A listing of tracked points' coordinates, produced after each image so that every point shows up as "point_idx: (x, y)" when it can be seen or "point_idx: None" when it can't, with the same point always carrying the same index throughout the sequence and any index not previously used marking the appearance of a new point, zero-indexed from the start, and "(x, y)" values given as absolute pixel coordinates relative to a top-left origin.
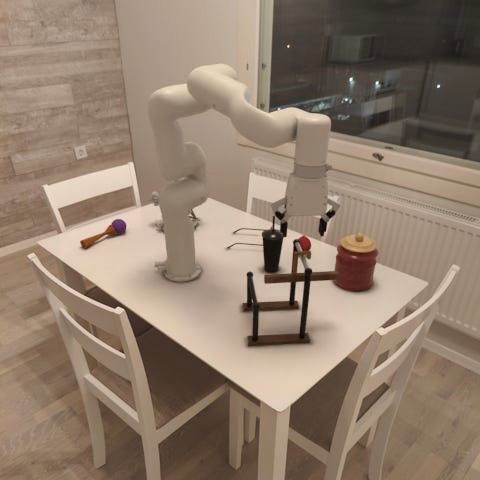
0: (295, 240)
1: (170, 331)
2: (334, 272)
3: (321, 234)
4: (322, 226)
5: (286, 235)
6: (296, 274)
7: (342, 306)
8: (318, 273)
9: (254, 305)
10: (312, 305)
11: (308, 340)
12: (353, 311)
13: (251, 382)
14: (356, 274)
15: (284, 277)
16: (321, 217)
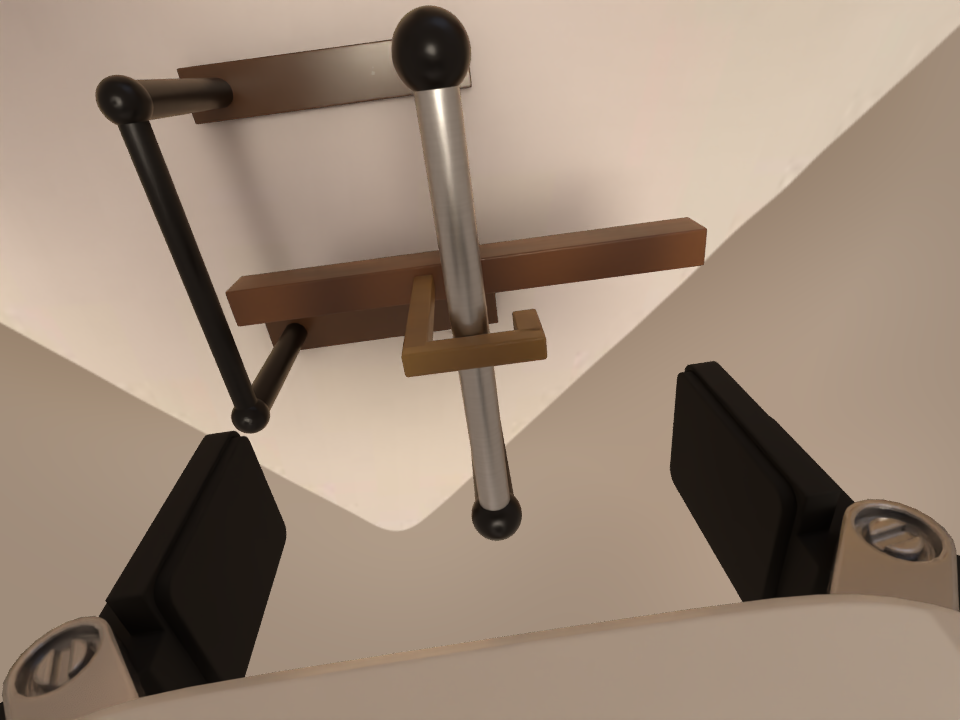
0: (416, 71)
1: None
2: (687, 251)
3: (683, 490)
4: (732, 578)
5: (280, 550)
6: (437, 283)
7: (686, 49)
8: (581, 266)
9: (241, 430)
10: (541, 46)
11: (491, 322)
12: (722, 93)
13: (319, 480)
14: None
15: (361, 308)
16: (820, 494)
